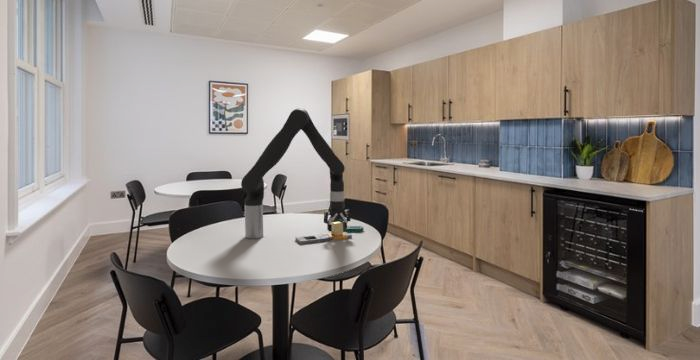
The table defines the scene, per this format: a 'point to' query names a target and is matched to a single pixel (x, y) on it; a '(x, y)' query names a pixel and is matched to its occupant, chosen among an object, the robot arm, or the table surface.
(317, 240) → the rail
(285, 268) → the table surface
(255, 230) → the robot arm
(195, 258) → the table surface
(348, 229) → the bracket
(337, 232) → the block
